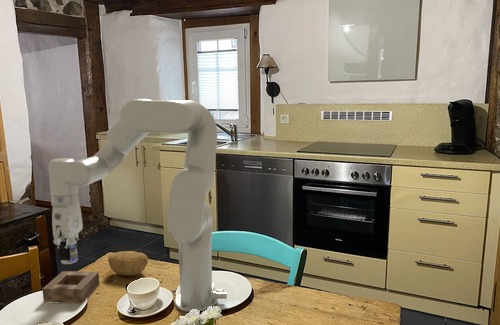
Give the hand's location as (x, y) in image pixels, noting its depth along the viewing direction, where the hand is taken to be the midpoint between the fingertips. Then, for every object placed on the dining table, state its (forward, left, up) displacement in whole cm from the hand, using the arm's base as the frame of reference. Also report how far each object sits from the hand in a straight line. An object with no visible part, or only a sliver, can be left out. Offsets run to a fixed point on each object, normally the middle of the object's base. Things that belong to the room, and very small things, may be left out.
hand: (69, 255), depth 123 cm
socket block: (0, 0, -12) cm, 12 cm away
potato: (-13, -14, -13) cm, 23 cm away
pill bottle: (0, 0, -2) cm, 2 cm away
